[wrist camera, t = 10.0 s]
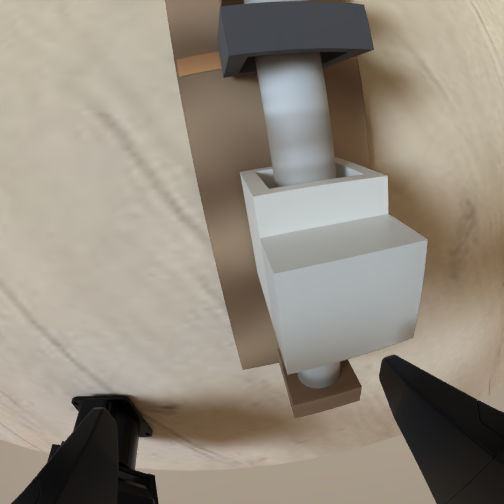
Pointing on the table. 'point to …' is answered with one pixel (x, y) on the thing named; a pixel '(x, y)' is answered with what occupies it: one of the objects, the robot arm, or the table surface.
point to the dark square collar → (290, 32)
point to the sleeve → (333, 264)
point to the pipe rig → (261, 156)
